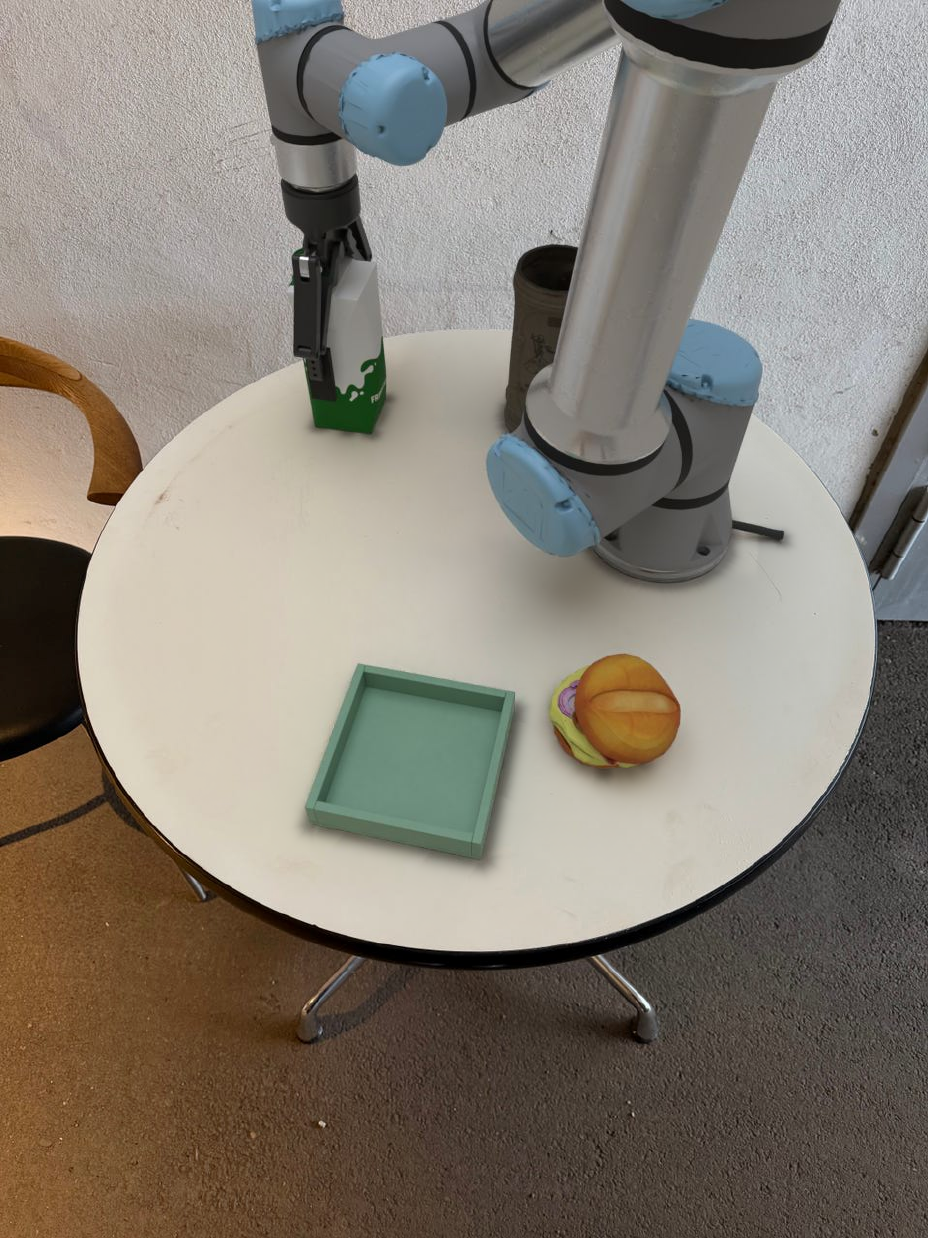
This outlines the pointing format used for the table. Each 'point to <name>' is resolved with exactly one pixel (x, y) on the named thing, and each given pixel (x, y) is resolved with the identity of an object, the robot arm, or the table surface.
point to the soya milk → (353, 350)
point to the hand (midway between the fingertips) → (343, 362)
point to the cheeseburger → (615, 713)
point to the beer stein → (536, 319)
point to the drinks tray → (414, 760)
